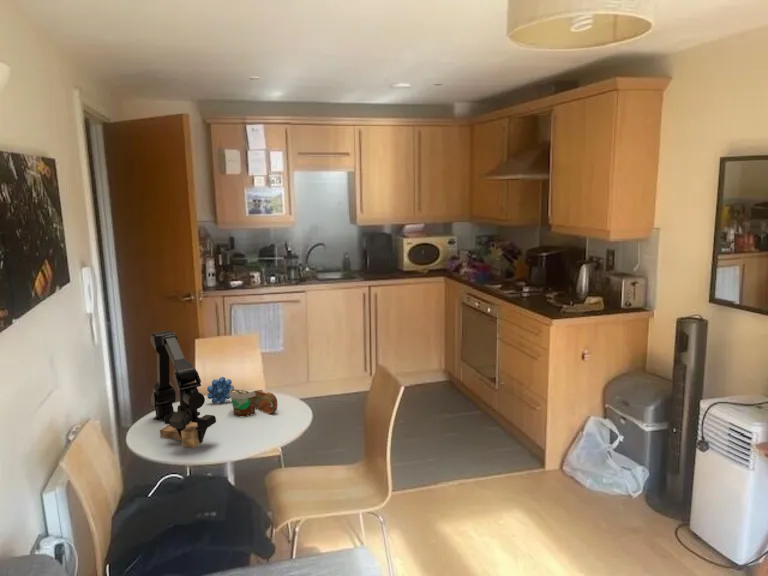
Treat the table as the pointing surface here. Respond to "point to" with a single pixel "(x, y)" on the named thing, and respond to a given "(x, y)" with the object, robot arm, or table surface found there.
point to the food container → (242, 402)
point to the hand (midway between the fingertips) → (192, 441)
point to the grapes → (219, 390)
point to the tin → (265, 401)
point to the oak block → (190, 437)
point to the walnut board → (173, 431)
